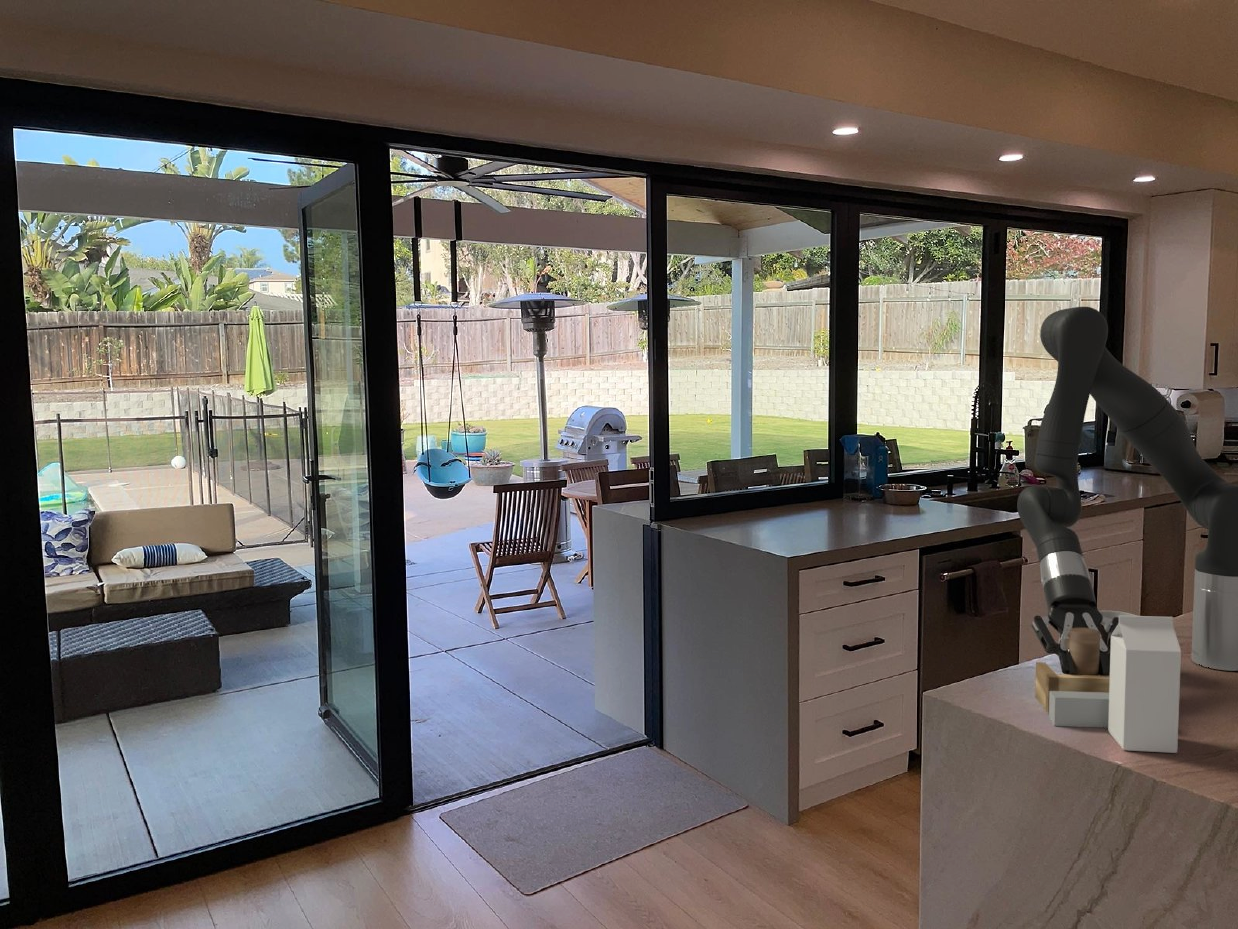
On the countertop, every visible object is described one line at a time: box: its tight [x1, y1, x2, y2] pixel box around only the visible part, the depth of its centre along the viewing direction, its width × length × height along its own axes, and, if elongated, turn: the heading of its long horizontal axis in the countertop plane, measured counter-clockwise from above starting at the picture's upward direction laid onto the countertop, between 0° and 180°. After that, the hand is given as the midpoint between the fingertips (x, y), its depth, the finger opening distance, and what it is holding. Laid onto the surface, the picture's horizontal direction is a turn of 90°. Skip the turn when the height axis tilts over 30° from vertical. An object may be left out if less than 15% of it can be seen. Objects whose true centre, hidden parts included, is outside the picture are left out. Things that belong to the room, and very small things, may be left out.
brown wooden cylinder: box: [1068, 628, 1100, 675], centre depth 151 cm, size 4×4×12 cm
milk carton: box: [1107, 615, 1182, 754], centre depth 136 cm, size 7×7×19 cm
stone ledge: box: [1048, 691, 1109, 729], centre depth 144 cm, size 14×3×4 cm, turn 81°
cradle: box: [1034, 661, 1110, 714], centre depth 151 cm, size 13×8×6 cm, turn 81°
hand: (1087, 675), depth 149 cm, fingers closed on brown wooden cylinder, 4 cm apart
